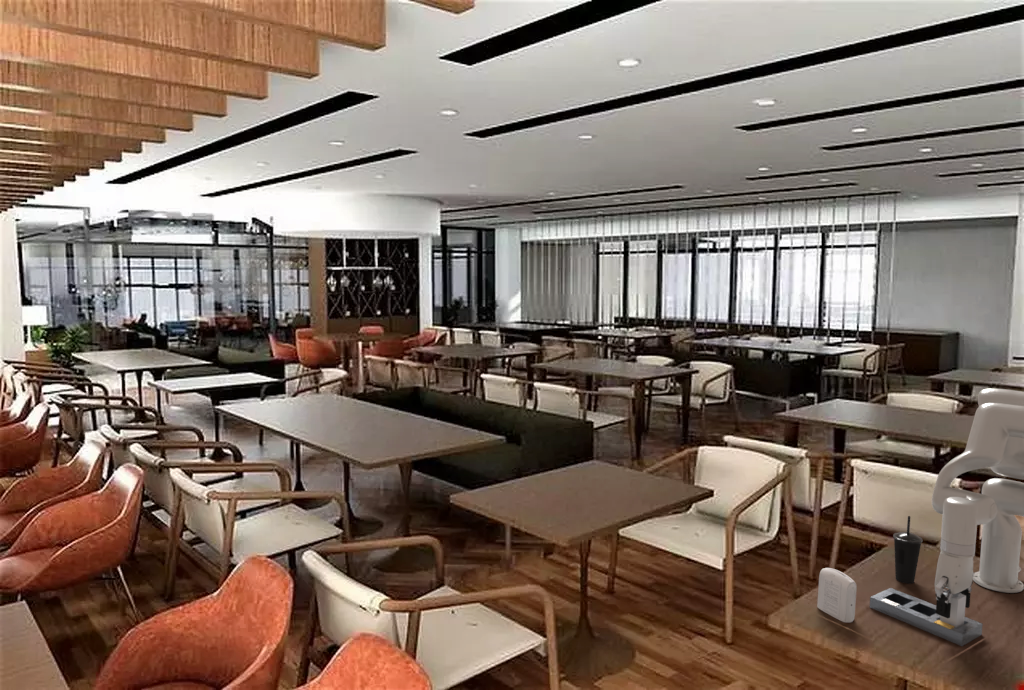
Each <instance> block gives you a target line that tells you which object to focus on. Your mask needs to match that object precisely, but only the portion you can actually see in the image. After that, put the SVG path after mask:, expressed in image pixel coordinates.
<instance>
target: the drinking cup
mask: <svg viewBox="0 0 1024 690" xmlns="http://www.w3.org/2000/svg"><path fill="white" fill-rule="evenodd" d="M906 523H907V524H906V526H907V527H906V531H899V532H895V533H893V534H892V536H893V541H894V544H893V545H894V568H895V569H894V570H895V571H894V572H895V573H894V574H895V580H896V581H897V582H900V583H903V584H908V585H910V584H915V579H916V573H917V567H918V562H919V556H920V553H921V546H922V543H923V538H922V537H921V536H919V535H918V534H916V533H912V532H911V531H910V528H911V516H910V515H908V516H907V522H906Z"/></svg>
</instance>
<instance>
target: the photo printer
mask: <svg viewBox="0 0 1024 690" xmlns="http://www.w3.org/2000/svg"><path fill="white" fill-rule="evenodd" d="M857 586H858V585H857V583H856V582H855V580H854V579H852V578H851V577H850V576H849V575H847V574H846V573H844V572H842V571H840V570H838V569H835V568H831V567H825V568H822V569H821V570H820V572H819V576H818V590H817V591H818V593H817V602H816V604H817V608H818V609H819V610H820V611H822V612H824V613H826V615H827V614H828V615H829V616H831V617H833V618H835V619H836V620H839V621H840V622H842V623H853V621H854V620H855V617H856V616H855V615H856V601H857V600H856V599H857V588H858V587H857Z"/></svg>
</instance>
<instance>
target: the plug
mask: <svg viewBox="0 0 1024 690" xmlns="http://www.w3.org/2000/svg"><path fill="white" fill-rule="evenodd" d="M948 590H949V591H950V589H948ZM943 594H944V595H945V596H946V597H947V595H948V593H945V592H943ZM949 603H951V611H950V618H946V617H943V616H940V621H942V622H945V623H947V624H950V625H952V626H955V627H956V628H959V627H961V626H963V625H964V618H965V617H966V615H965V614H966V607H965V605H966V596H965V595H963V594H961V593H960V592H959V593H957V594H953V595H952V597H951V599H950V602H949Z"/></svg>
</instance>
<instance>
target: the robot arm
mask: <svg viewBox="0 0 1024 690" xmlns="http://www.w3.org/2000/svg"><path fill="white" fill-rule="evenodd" d="M977 404H978V407H977V408H976V411H975V413H974V417H973V421H972V424H971V428H970V432H969V435H968V439H967V441H966V446H965V449H964V451H963V452H962V453H961V454H958V455H956V456H955V457H954V458H952V459H951V460H950V461H948V462H947V463H946V464H945V465H944V466H943V467H942V468H941V470H940V471H939V473H938V474H937V478H936V481H935V484H934V488H933V491H932V496H931V506H932V509H933V511H935V512H936V513H938V514H939V515H942V517H941V518H942V519H941V530H940V531H941V534H940V542H939V544H940V545H939V546H940V547H939V550H940V552H939V556H938V559H937V565H936V571H935V579H934V591H935V594H934V595H935V600H936V604H935V605H936V614H938V615H940V616H943V617H946V618H950V611H951V603H949V602H950V599H951V597H952V595H953V594H957V593H959V592H960V593H961V594H963V595H965V596H966V605H965V609H966V608H967V609H968V608H970V605H971V604H970V603H971V592H972V589H973V588H972V585H973V583H974V582H975V584H977V585H979V586H981V587H983V588H986V589H988V590H991V591H995V592H1000V593H1007V594H1009V593H1010V594H1014V593H1015V594H1016V593H1020V592H1023V590H1024V583H1023V582H1022V581H1021V580H1020V579H1018V578H1019V573H1020V572H1021V571H1022V568H1021V566H1020V556H1021V546H1022V535H1023V534H1022V533H1023V531H1022V530H1023V529H1022V526H1021V524H1020V522H1019V520H1018V519H1017V517H1016V516H1019V517H1024V482H1021V481H1016V480H1017V479H1018V480H1022V481H1023V480H1024V391H1021V390H1014V389H1005V388H993V387H989V388H984V389H981V390H980V391H979V393H978V395H977ZM987 468H990V469H991V471H992V472H993V473H995V474H997V475H999V476H1003V477H1008V478H1012V479H1007V478H1000V477H999V478H998V477H994V478H989V479H987V480H986V481H985V482H984V483H983V484H982V486H981V493H979V492H974V491H970V490H966V489H961V488H955V487H951V484H952V483H953V481H954V480H955V479H956V478H957V477H958V476H960V475H962V474H965V473H967V472H970V471H971V472H972V471H976V470H980V469H987ZM1013 479H1016V480H1013ZM981 525H982V532H981V534H982V535H981V543H980V544H981V545H980V558H979V569H978V571H975V572H974V557H975V556H976V543H977V541H976V540H977V532H978V531H977V530H978V529H977V528H978V526H981ZM949 589H950V591H949ZM944 592H945V593H948V595H947V597H946V596H945V595H944V594H943V593H944Z"/></svg>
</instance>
